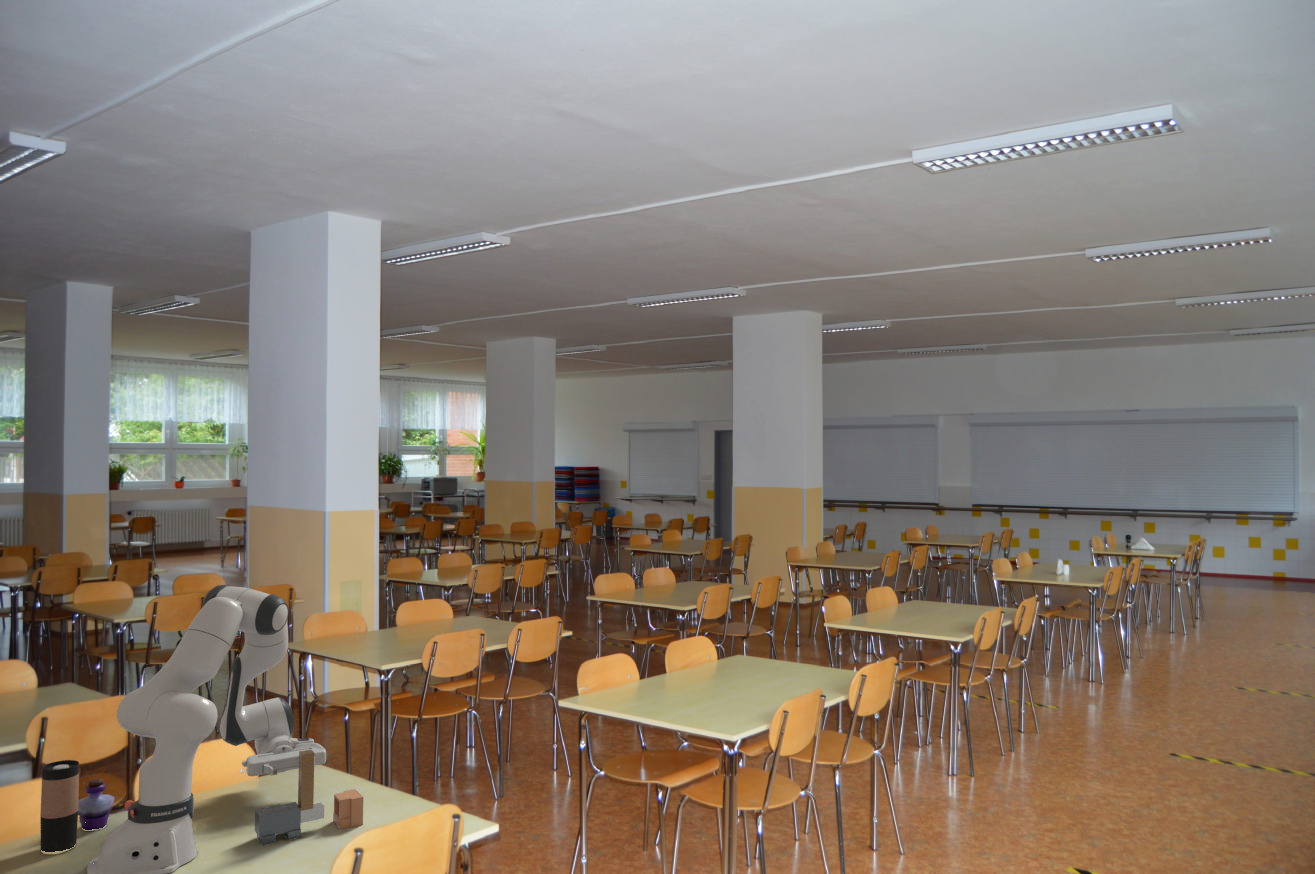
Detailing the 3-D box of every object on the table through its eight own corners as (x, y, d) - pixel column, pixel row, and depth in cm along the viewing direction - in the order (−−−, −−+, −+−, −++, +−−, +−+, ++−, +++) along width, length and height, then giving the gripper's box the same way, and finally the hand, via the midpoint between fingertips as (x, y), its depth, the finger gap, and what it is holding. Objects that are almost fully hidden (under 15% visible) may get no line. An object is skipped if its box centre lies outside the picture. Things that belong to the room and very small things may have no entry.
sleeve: (259, 846, 223) (260, 816, 223) (254, 837, 228) (254, 808, 228) (300, 837, 229) (301, 808, 229) (294, 829, 233) (295, 801, 234)
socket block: (340, 829, 234) (341, 801, 234) (332, 820, 239) (333, 792, 240) (362, 824, 237) (363, 796, 237) (354, 815, 243) (355, 788, 243)
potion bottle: (113, 818, 239) (114, 772, 239) (114, 829, 232) (116, 782, 232) (74, 825, 235) (75, 777, 235) (74, 837, 227) (75, 788, 228)
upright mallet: (263, 830, 225) (264, 760, 225) (260, 826, 227) (262, 757, 228) (324, 817, 233) (325, 750, 234) (320, 814, 236) (322, 747, 236)
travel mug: (31, 853, 218) (33, 768, 218) (60, 840, 225) (63, 758, 226) (56, 857, 216) (58, 771, 216) (85, 844, 223) (87, 761, 224)
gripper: (240, 749, 249) (251, 763, 237) (318, 737, 260) (332, 750, 249) (240, 773, 248) (250, 788, 237) (317, 759, 260) (331, 773, 249)
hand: (293, 768), depth 243 cm, fingers open, 8 cm apart
